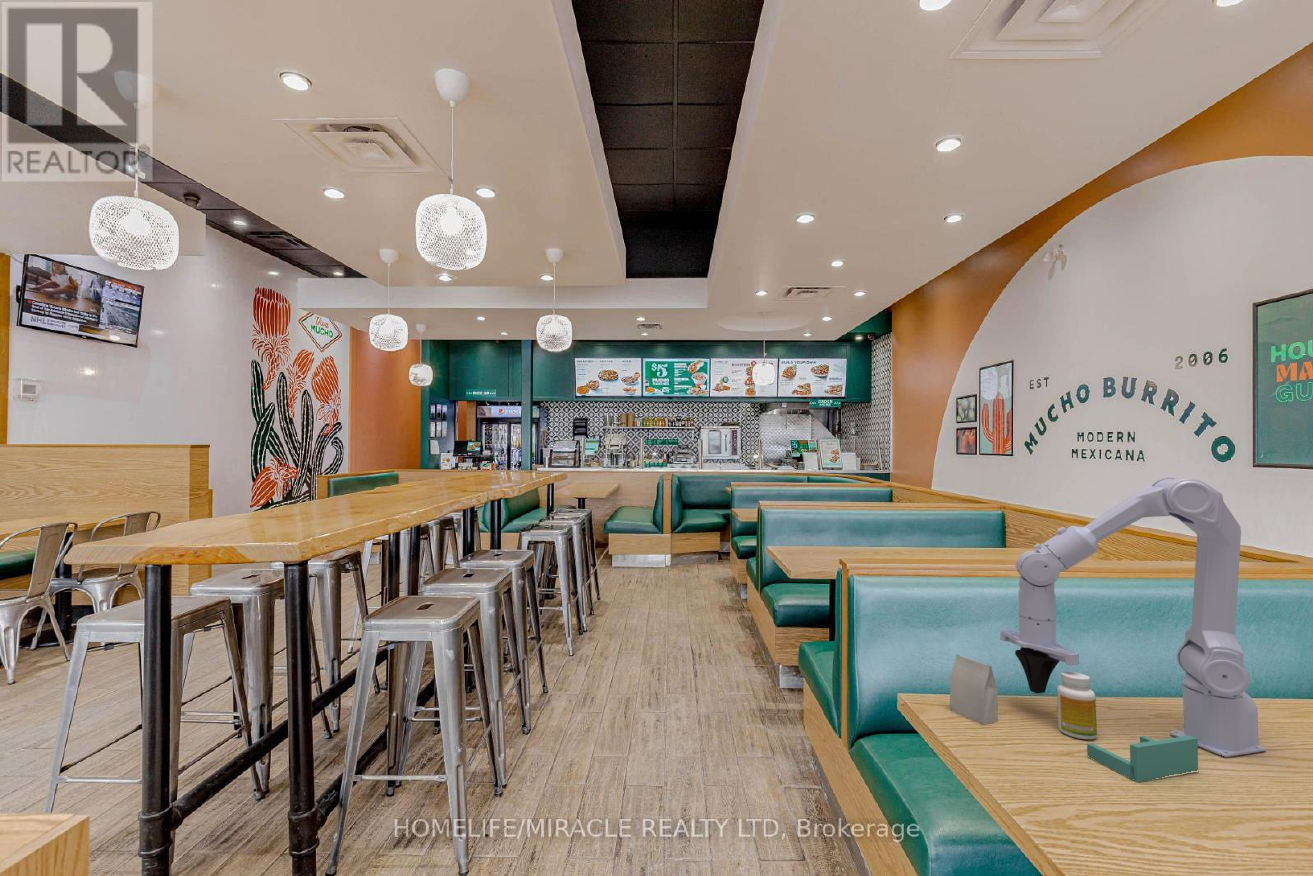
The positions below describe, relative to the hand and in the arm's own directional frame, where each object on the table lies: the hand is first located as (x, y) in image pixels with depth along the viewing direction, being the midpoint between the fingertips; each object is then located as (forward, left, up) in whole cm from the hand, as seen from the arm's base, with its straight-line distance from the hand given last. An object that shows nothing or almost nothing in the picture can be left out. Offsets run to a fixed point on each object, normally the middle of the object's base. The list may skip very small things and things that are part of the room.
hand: (1037, 691), depth 106 cm
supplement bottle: (0, +8, -4) cm, 9 cm away
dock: (0, +18, -4) cm, 18 cm away
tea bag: (+12, -2, -4) cm, 13 cm away
